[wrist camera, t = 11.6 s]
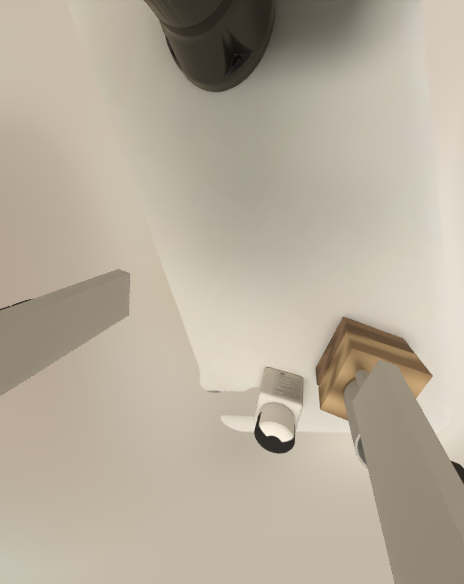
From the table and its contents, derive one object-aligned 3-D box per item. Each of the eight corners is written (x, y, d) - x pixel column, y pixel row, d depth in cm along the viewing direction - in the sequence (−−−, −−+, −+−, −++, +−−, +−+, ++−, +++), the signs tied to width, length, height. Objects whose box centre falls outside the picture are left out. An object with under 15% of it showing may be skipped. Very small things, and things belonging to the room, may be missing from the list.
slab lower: (343, 316, 40) (347, 329, 35) (402, 337, 38) (415, 354, 34) (315, 367, 45) (316, 384, 40) (367, 388, 43) (375, 409, 38)
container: (295, 405, 48) (292, 466, 37) (260, 394, 50) (247, 449, 39) (303, 376, 46) (303, 433, 34) (265, 366, 48) (253, 416, 36)
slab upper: (346, 331, 36) (352, 348, 31) (415, 354, 34) (432, 376, 29) (318, 387, 40) (320, 409, 36) (377, 410, 38) (387, 436, 34)
